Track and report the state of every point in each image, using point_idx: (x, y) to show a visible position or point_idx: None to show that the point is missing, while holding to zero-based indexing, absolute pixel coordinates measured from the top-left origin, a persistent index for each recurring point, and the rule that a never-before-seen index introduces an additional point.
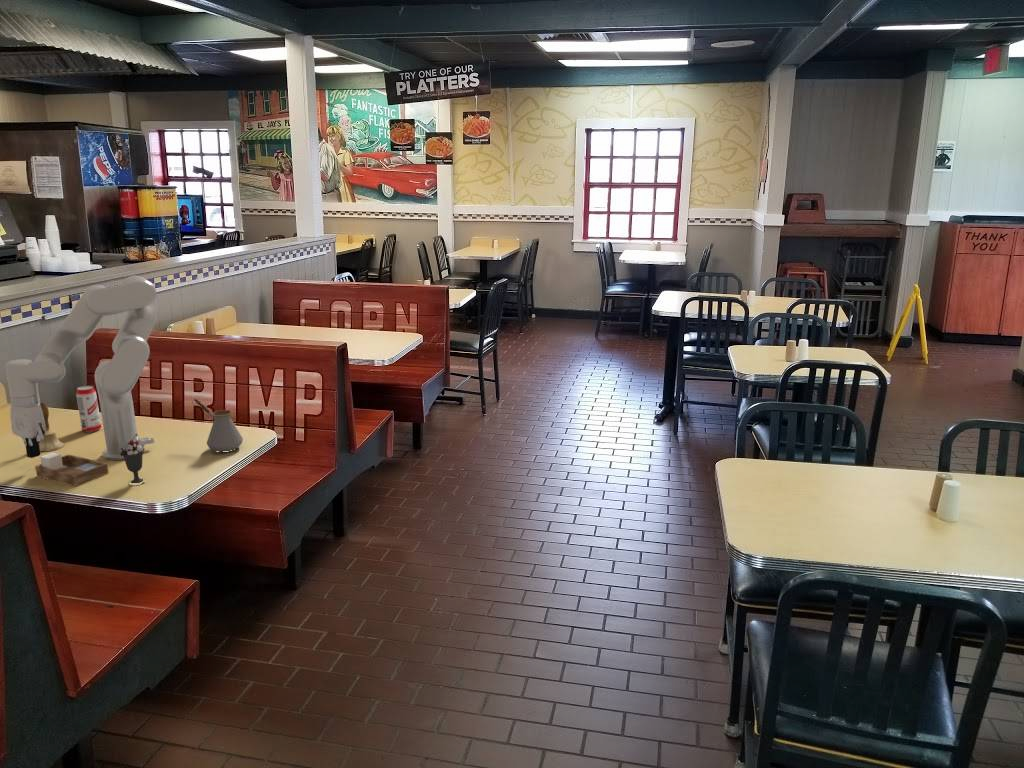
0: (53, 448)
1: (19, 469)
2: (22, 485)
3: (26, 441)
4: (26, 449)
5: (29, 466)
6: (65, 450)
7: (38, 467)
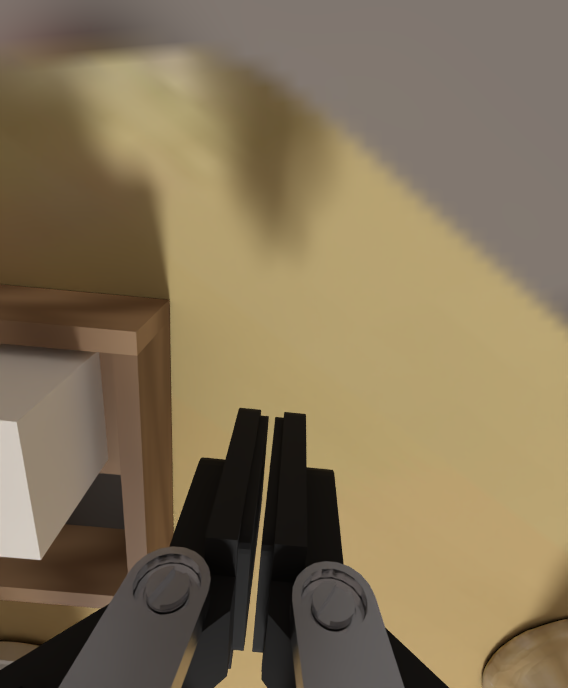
0: (504, 665)
1: (451, 348)
2: (59, 67)
3: (294, 644)
4: (296, 485)
5: (421, 419)
6: None
7: (81, 324)
